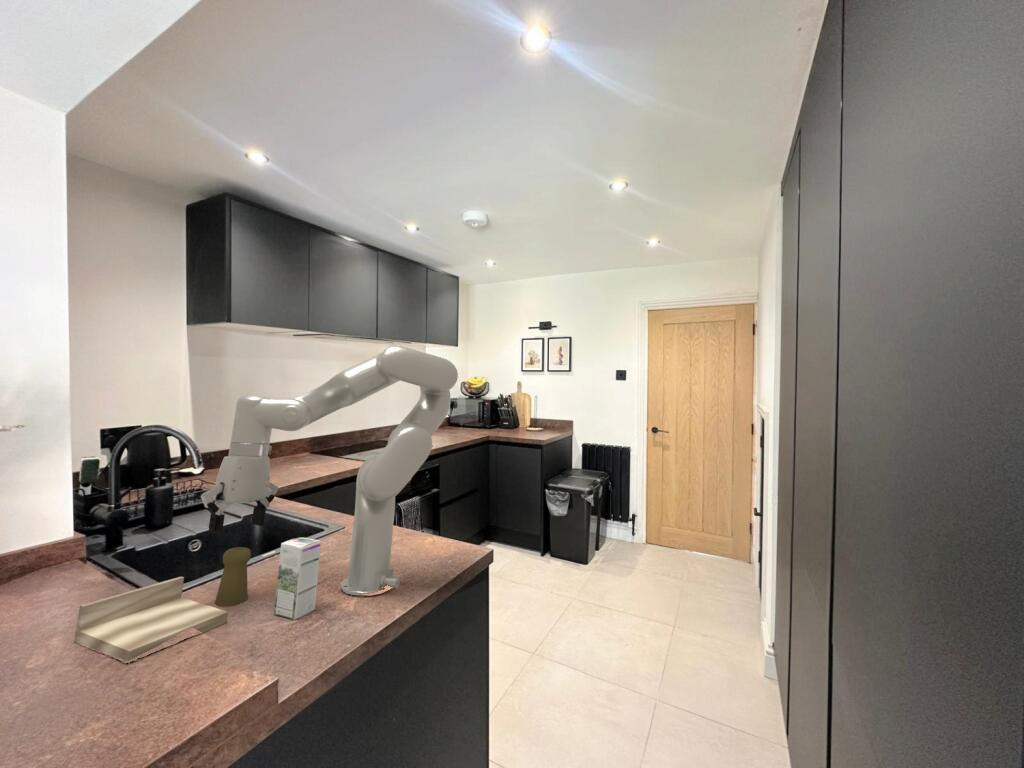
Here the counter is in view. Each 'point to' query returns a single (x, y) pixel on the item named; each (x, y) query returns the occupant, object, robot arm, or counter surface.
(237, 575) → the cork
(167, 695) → the counter surface
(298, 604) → the syrup box
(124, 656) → the shelf
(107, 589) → the counter surface
